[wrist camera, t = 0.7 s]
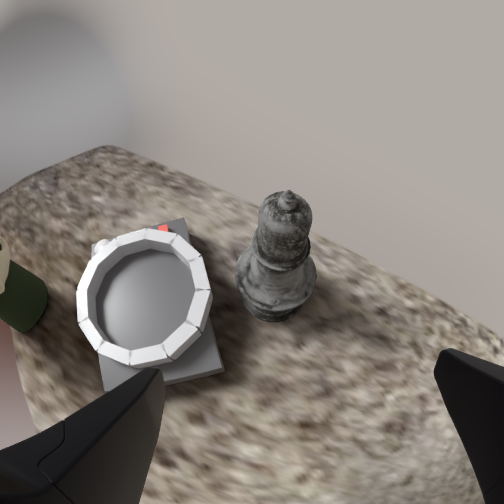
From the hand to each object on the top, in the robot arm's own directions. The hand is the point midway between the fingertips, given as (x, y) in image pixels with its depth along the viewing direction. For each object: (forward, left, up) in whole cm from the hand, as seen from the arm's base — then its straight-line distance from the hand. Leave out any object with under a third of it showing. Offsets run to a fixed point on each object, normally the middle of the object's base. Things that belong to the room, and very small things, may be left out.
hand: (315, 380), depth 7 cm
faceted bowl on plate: (+11, +5, -13) cm, 18 cm away
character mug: (+18, +18, -14) cm, 29 cm away
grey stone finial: (+7, -4, -14) cm, 16 cm away
